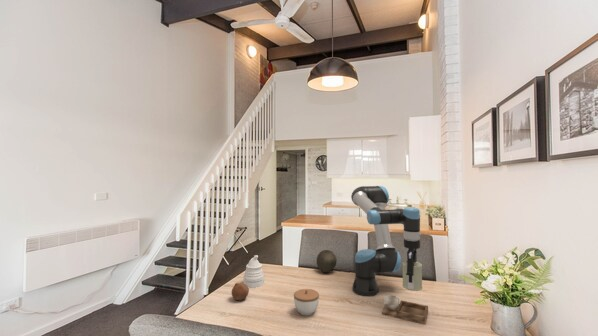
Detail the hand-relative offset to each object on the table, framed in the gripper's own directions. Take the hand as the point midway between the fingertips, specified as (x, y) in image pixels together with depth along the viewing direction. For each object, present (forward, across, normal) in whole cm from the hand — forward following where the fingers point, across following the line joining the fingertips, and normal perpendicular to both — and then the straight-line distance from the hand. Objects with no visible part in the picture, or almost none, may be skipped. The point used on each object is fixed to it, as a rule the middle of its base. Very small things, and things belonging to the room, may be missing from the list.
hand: (412, 285), depth 142 cm
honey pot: (+15, -6, +94) cm, 95 cm away
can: (+1, 0, 0) cm, 1 cm away
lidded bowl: (+15, -22, +48) cm, 54 cm away
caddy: (+15, 0, +4) cm, 15 cm away
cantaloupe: (+15, +35, +62) cm, 72 cm away
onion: (+15, -27, +87) cm, 92 cm away
